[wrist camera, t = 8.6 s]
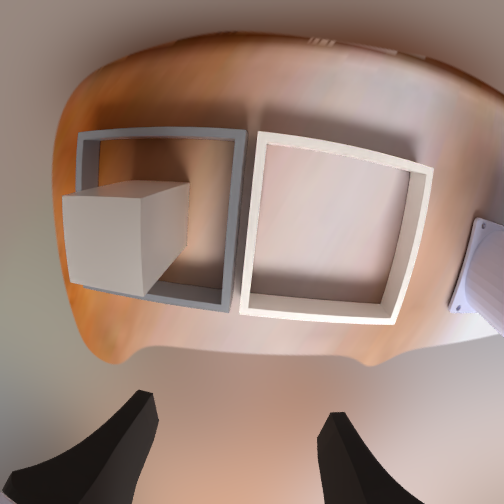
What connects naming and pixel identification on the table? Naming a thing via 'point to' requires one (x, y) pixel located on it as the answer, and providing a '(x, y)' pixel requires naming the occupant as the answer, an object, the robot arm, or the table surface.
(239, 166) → the bin
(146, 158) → the table surface
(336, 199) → the table surface
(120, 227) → the white rectangular block
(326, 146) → the bin
